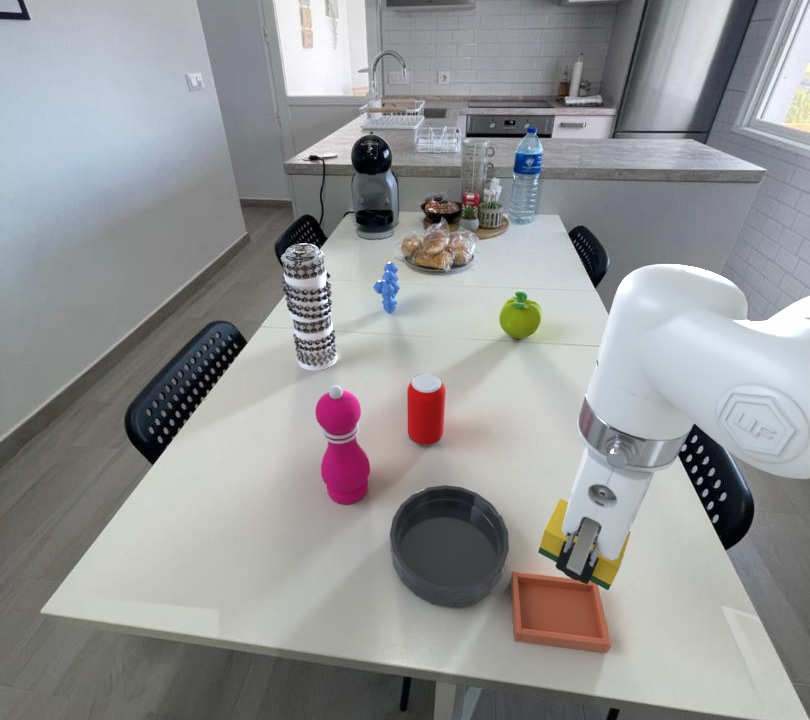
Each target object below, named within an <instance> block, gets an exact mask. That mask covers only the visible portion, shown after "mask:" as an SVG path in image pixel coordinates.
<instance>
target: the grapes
mask: <svg viewBox="0 0 810 720" xmlns="http://www.w3.org/2000/svg"><path fill="white" fill-rule="evenodd" d="M382 270H384V273H383V275H382V276H381V279H382V280H378V281H376V282H375V283H374V285H373V286H372V287H373V289H374V291H375V293H377V294H379V295H381V298H382V299H383V300H382V301H381V304H382V309H383V310H384V311H385V312H386V314H389V315H391V314H392V313H393V312H394V311H395V310H396V309H397V304H398V301H397V300H396V296H397V294H398V293H399V290H400V289H401V287H400V285H399V284H398V283H397V282H398V281H399V277H398V275H397V272H398V271H399V269H398V267H397V265H396V264H395V263H394V262H392V261H389V262H387V263H386V264H385V266H384V267H383V269H382Z"/></svg>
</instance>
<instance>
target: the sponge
mask: <svg viewBox="0 0 810 720" xmlns="http://www.w3.org/2000/svg"><path fill="white" fill-rule="evenodd" d="M568 503H569V501H567V500H565V499H563V498H559V499H558V502H557V503H556V505H555V507H554V510H553V512H552V514H551V516H550V518H549V520H548V522H547V523H546V526H545V528H544V531H543V534H542V538H541V541H540V544H539V547H538V551H537V552H538V554H540V555H541V556H544V557H545V558H547V559H549V560H551V561H553V562H554V563H557V560H558V557H559V554H560V551H561V548H562V545H563V543H564V541H566V542H567V539H568V536H567V537H565V536H564V534H563V532H562V526H563V522H564V518H565V514H566V510H567V506H568ZM630 536H631V530H630V531H629V533H628V535H627V537H626V540H625V542H624V544H623V547H622V549H621V552H620V554H619V557H618V558H617V559H615V560H609V559H607V558H604V557H602V556H601V554H600V551H599V553H598V556H597V557H598V558H599V560H598V563H597V565H596V567H595V569H594V572H593V574H592V576H591V578H590V581H591V582H593V583H595V584H597V585H598V587H600V588H603V589H604V590H606V591H609V590H610V588H611V586H612V584H613V582H614V581H615V578H616V576H617V574H618V572H619V570H620V568H621V565H622V561H623V558H624V555H625V552H626V548H627V546H628V543H629V540H630ZM577 538H578V537H577V536H575V539H574V541H573V543H574V542H576V540H577ZM593 547H594V545H593V544H592V547H591V549H590V550H591V552H592V550H593Z"/></svg>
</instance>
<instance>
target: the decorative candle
mask: <svg viewBox="0 0 810 720" xmlns="http://www.w3.org/2000/svg"><path fill="white" fill-rule="evenodd" d="M325 257H326V253H325V252H324V251H323V250H322V249H320V248H319V247H318V246H316V245H315V244H313V243H304V242H303V243H297V244H293V245H290V246H289V247H288V248H286V249H285V252H284V253H283V254H282V255H281V257H280V260H281V262H282V268H283V271H284V272H283V275H282V277H281V279H282V280H281V282H280V283H281V285H283V288H282V290H283V292H284V295H285V298H284V299H285V301H286V307H287V310H288V311H289V316H290V318H291V319H292V321H293V328H292V329H293V334H292V337H293V339H294V341H293V342H294V344H295V348H294V349H295V352H296V358H297V363H298V365H299V366H300V367H301V368H302V369H304V370H308V371H313V372H314V371H315V372H316V371H323V370H326V369H329V368H331V367H332V366H334V365H335V364H336V362H337V361H338V354H337V352H338V350H337V343H336V340H335V339H336V336H335V333H336V330H335V328H334V327H333V321H332V319H331V313H332V311H333V307H332V304H333V300H332V299H331V298H330V297H331V296H332V290H331V288H332V287H331V286H332V284H331V283H330V282H329V281H328V279H331V274H330V273H329V272H328V271H327V268H326V267H325V260H324V258H325ZM326 279H327V280H326Z"/></svg>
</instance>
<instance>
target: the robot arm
mask: <svg viewBox="0 0 810 720" xmlns="http://www.w3.org/2000/svg"><path fill="white" fill-rule="evenodd" d="M748 305H749V304H748V301H747V298H746V295H745V293H744V292H743V291H742V290H741V289H740V288H739V286H738V285H736V284H735V283H734V282H733V281H731V280H729V279H728V278H726V277H723V276H721V275H719V274H717V273H714V272H713V271H709V270H705V269H702V268H699V267H694V266H688V265H684V264H673V263H656V264H650V265H645V266H641V267H638V268H637V269H634V270H633V271H631V272H630V273H628V274H627V275H626V276H625V277H623V279H622V281H621V282H620V284H619V285H618V287H617V289H616V292H615V294H614V298H613V301H612V304H611V308H610V311H609V313H608V317H607V321H606V324H605V327H604V332H603V334H602V338H601V341H600V345H599V347H598V351H597V355H596V358H595V361H594V365H593V368H592V372H591V374H590V379H589V382H588V386H587V389H586V392H585V395H584V399H583V402H582V405H581V409H580V412H579V415H578V419H577V422H576V430H577V434H578V437H579V439H580V441H581V442H582V443H583V445H584V446H585V447H584V450H583V452H582V456H581V459H580V462H579V465H578V469H577V472H576V475H575V479H574V482H573V485H572V489H571V492H570V496H569V499H568V502H569V503H568V506H567V510H566V514H565V518H564V522H563V526H562V532H563V534H564V536H565V537H567V536H568V539H567V542H566V541H564V543H563V545H562V548H561V551H560V554H559V557H558V560H557V562H555V568H556V569H557V570H558V571H560V572H562V573H563V574H564V575H565V576H567V578H572V579H574V580H579V581H580V582H582V583H584V584H588V583H589V581H590V578H591V576H592V574H593V572H594V569H595V567H596V565H597V563H598V560H599V558H598V557H597V556H598V553H599V551H600V554H601V556H602V557H604V558H607V559H609V560H615V559H617V558H618V557H619V554H620V552H621V549H622V547H623V544H624V542H625V540H626V537H627V535H628V533H629V531H630V532H631V528H632V526H633V524H634V522H635V519H636V517H637V515H638V513H639V510H640V508H641V506H642V503H643V502H644V499H645V497H646V496H647V495H646V494H647V492H648V490H649V488H650V485H651V482H652V480H653V477H654V474H655V473H657V472H659V471H663V470H666V469H669V467H671V466H672V465H673V464H674V463H675V461H676V460H677V458H678V457H679V454H680V452H681V450H682V448H683V446H684V444H685V442H686V440H687V438H688V436H689V434H690V432H691V431H692V429H693V427H694V425H696V427H698V428H699V429H700V430H701V431H703V433H705V434H706V435H707V436H708V437H709V438H710V439H712V440H713V441H714V442H715V443H717V444H718V445H719V446H721V448H723V449H724V450H726V451H727V452H728V453H730V454H732V455H733V456H734V457H736V458H737V459H739V460H740V461H742V462H744V463H746V464H748V465H750V466H752V467H754V468H756V469H757V470H759V471H762V472H765V473H768V474H771V475H773V476H778V477H781V478H787V479H794V480H795V479H797V480H809V479H810V295H809V296H806V297H804V298H801V299H799V300H798V301H795V302H793V303H791V304H789V305H788V306H786V307H785V308H783V309H782V310H780V311H779V312H777V313H775V314H774V315H772V316H771V317H770V318H768V319H767V320H761V321H751V320H749V319H748V318H747V317H748V310H749V306H748ZM575 536H577V537H578V538H577V540H576V542H574V543H573V541H574V539H575ZM592 544H593V545H594V547H593V550H592V552H591V550H590V549H591V547H592Z"/></svg>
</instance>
